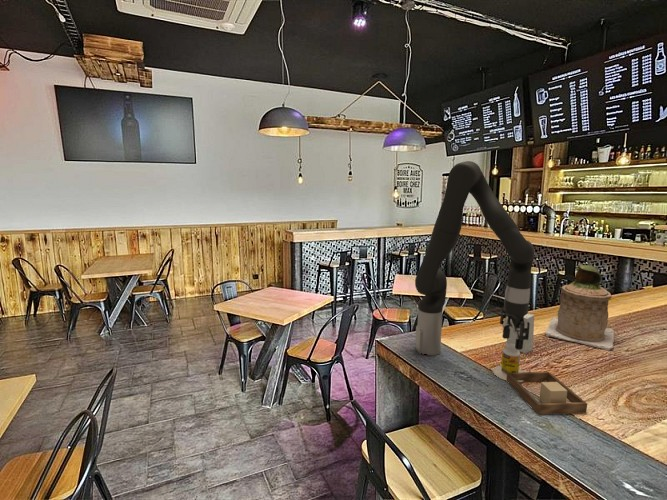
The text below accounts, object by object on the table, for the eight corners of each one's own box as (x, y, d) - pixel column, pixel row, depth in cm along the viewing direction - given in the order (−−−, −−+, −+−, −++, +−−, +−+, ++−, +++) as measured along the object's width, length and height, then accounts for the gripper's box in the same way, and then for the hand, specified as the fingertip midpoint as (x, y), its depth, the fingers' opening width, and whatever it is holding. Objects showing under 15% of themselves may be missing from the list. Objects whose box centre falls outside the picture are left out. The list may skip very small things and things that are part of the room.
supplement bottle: (498, 373, 132) (501, 345, 131) (503, 367, 137) (505, 340, 135) (515, 378, 129) (518, 350, 127) (520, 372, 133) (522, 344, 131)
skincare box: (532, 350, 151) (536, 315, 148) (524, 354, 148) (528, 318, 145) (513, 343, 158) (516, 309, 155) (504, 346, 155) (507, 312, 152)
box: (548, 409, 113) (550, 391, 112) (539, 399, 118) (541, 382, 117) (565, 409, 113) (567, 390, 112) (554, 399, 118) (556, 381, 117)
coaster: (501, 383, 127) (501, 381, 127) (487, 367, 138) (487, 365, 138) (533, 382, 128) (533, 380, 128) (516, 366, 138) (516, 364, 138)
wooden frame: (537, 414, 110) (538, 405, 110) (506, 380, 129) (507, 372, 128) (586, 412, 111) (587, 403, 110) (548, 379, 129) (548, 371, 129)
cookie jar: (613, 352, 149) (624, 274, 143) (543, 337, 164) (550, 265, 158) (614, 332, 169) (624, 262, 163) (551, 320, 183) (558, 255, 177)
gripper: (540, 306, 121) (534, 352, 125) (516, 292, 135) (511, 334, 138) (517, 306, 121) (512, 353, 124) (496, 292, 135) (491, 334, 138)
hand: (511, 343), depth 131 cm, fingers open, 8 cm apart
